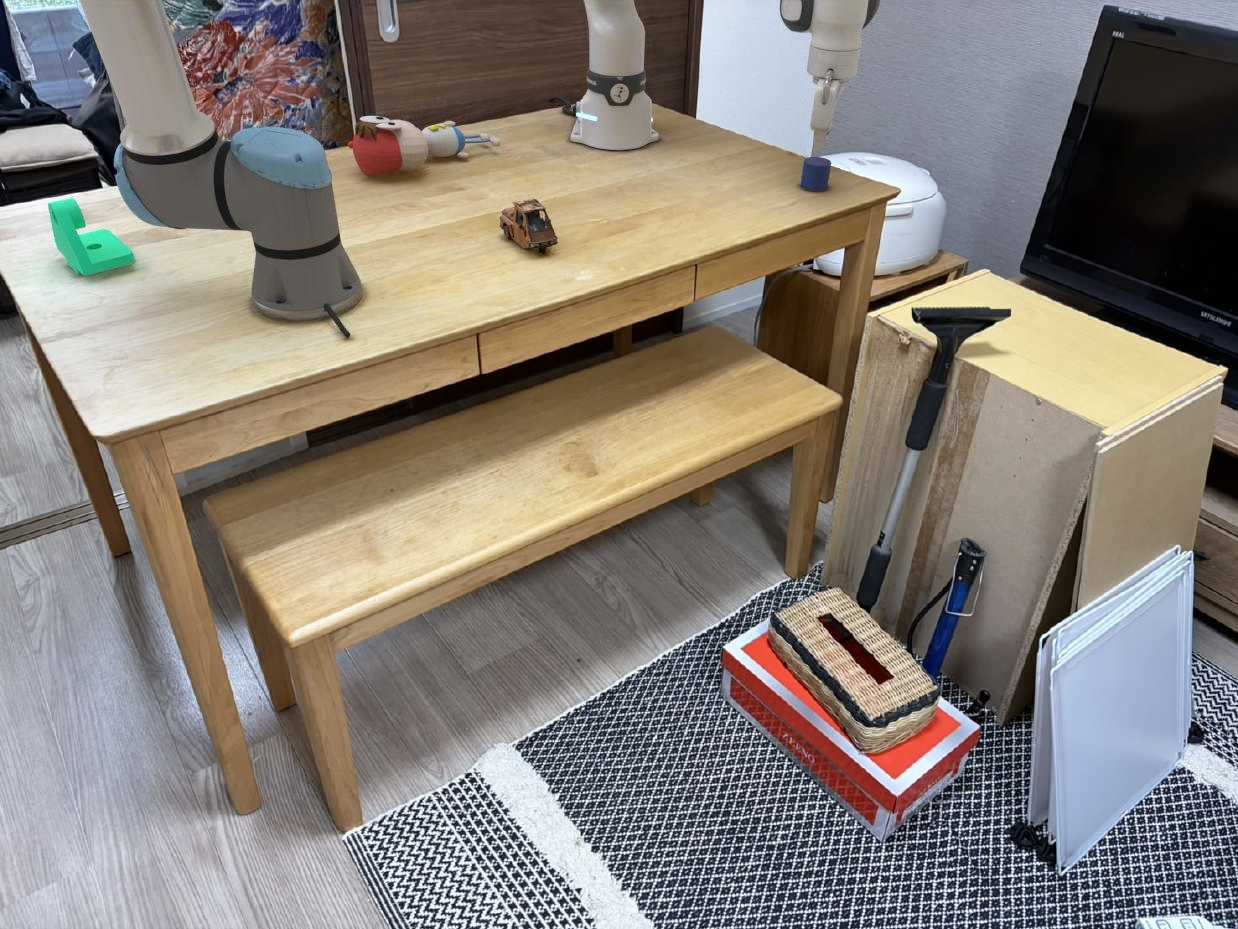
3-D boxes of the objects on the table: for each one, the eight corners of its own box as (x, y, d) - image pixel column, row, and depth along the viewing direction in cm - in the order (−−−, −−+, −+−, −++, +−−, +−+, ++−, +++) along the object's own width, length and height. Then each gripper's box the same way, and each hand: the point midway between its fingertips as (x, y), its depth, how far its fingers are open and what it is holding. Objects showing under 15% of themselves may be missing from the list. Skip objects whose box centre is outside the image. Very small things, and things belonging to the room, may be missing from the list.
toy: (516, 122, 178) (364, 126, 163) (515, 176, 183) (367, 184, 168) (475, 107, 191) (331, 109, 176) (475, 157, 196) (335, 163, 181)
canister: (808, 180, 180) (812, 154, 177) (832, 186, 177) (836, 161, 174) (795, 187, 176) (798, 161, 173) (818, 193, 174) (822, 167, 171)
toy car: (524, 226, 158) (523, 186, 153) (566, 250, 150) (565, 209, 146) (492, 235, 154) (490, 194, 150) (533, 260, 147) (532, 218, 143)
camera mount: (139, 268, 141) (119, 203, 135) (86, 282, 137) (63, 216, 130) (111, 243, 148) (91, 180, 142) (60, 256, 144) (37, 191, 137)
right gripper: (846, 79, 155) (833, 161, 164) (855, 50, 171) (843, 127, 179) (808, 76, 157) (797, 157, 165) (821, 48, 172) (810, 123, 181)
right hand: (821, 141), depth 172 cm, fingers open, 8 cm apart
